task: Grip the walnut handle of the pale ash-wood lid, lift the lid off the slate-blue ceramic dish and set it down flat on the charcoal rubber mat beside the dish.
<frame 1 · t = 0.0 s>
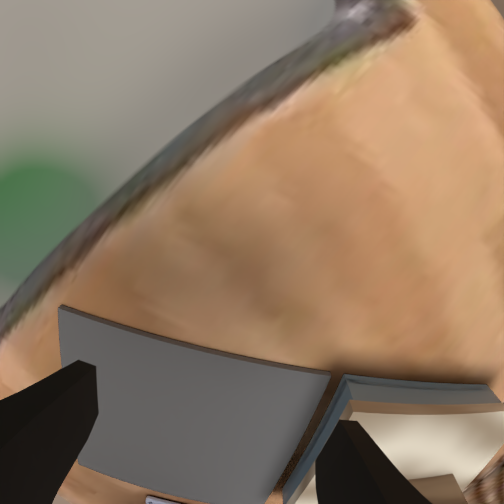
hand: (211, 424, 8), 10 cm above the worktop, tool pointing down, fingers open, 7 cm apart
mat: (174, 436, 21), on the worktop
lid: (400, 481, 18), point 4 cm above the worktop, touching dish
dish: (386, 446, 22), on the worktop
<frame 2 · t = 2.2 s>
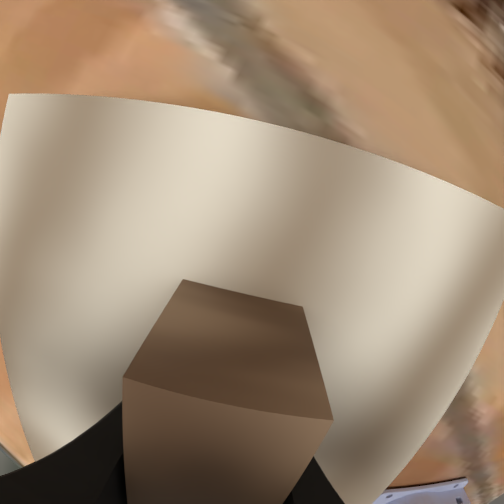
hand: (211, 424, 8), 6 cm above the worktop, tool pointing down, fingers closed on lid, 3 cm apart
lid: (217, 390, 10), point 4 cm above the worktop, touching dish, gripper
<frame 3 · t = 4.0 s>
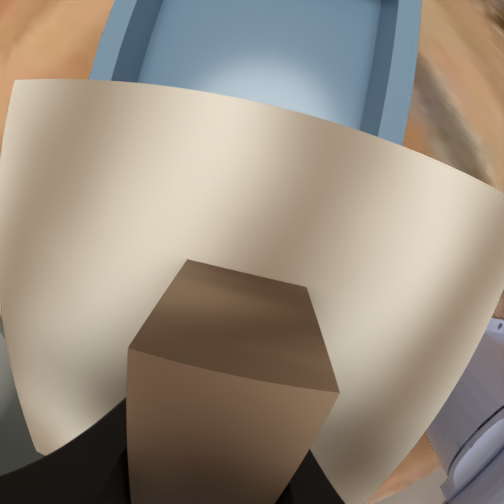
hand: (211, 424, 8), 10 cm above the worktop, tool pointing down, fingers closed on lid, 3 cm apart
lid: (220, 374, 10), point 8 cm above the worktop, touching gripper
dish: (257, 61, 15), on the worktop
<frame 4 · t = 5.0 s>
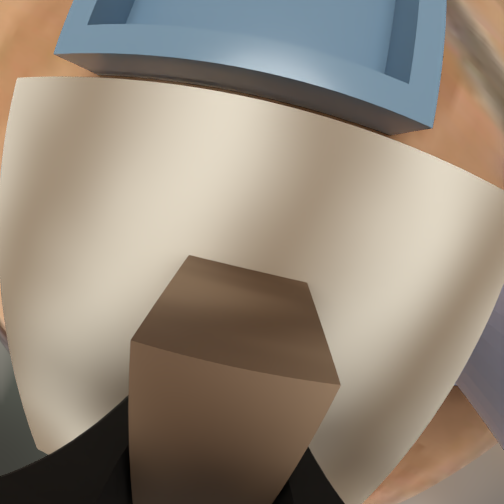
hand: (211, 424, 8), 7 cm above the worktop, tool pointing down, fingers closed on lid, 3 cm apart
lid: (221, 370, 10), point 5 cm above the worktop, touching gripper
when the fingers open (3 cm above the worktop, at t = 6.0 s): lid stays where it is, resting on mat.
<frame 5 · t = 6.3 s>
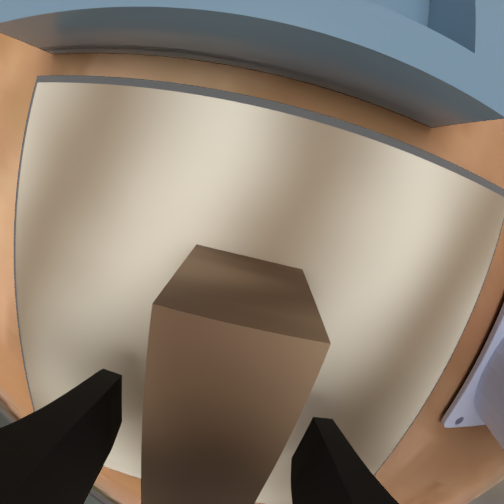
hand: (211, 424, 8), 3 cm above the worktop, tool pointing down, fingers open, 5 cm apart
mat: (222, 360, 12), on the worktop
lid: (224, 356, 11), resting on mat
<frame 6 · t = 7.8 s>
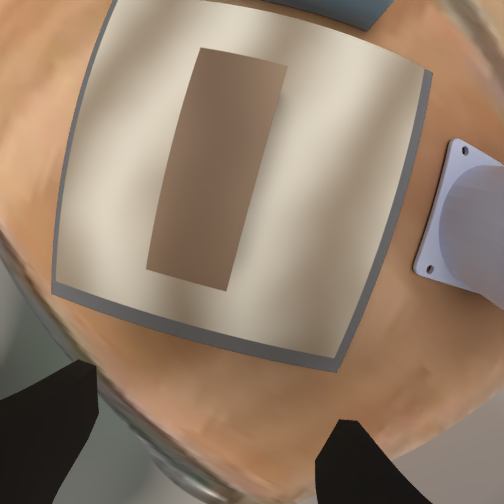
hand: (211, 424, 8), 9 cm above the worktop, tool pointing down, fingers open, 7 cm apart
mat: (225, 177, 16), on the worktop
lid: (226, 166, 15), resting on mat
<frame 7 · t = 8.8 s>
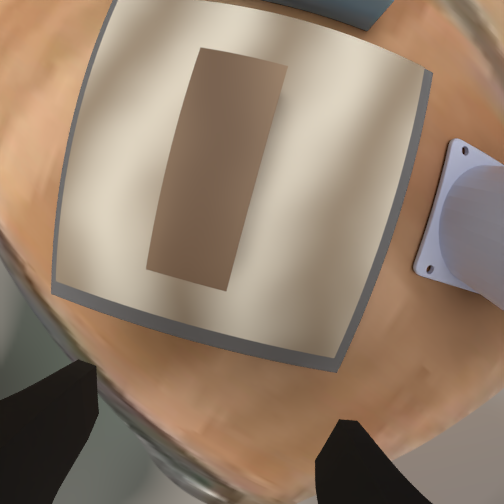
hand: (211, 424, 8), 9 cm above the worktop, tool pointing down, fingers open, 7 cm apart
mat: (225, 177, 16), on the worktop
lid: (226, 166, 15), resting on mat
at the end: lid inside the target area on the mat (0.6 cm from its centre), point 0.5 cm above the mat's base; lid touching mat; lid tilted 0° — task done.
